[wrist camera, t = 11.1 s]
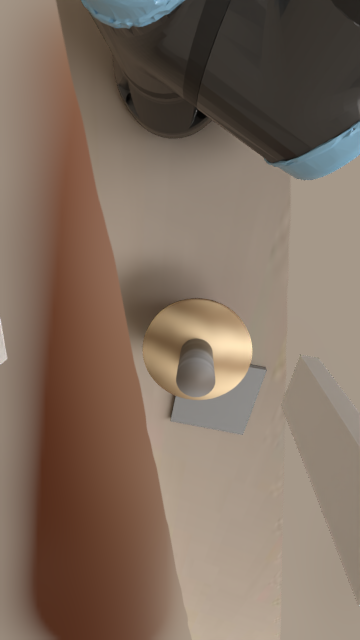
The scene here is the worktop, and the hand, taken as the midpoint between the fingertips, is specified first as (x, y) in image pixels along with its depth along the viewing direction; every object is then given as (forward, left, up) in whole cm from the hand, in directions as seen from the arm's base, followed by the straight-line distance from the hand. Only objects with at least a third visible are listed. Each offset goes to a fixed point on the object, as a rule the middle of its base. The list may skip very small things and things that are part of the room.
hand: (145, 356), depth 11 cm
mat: (+28, +11, -34) cm, 45 cm away
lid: (+12, +4, -22) cm, 25 cm away
